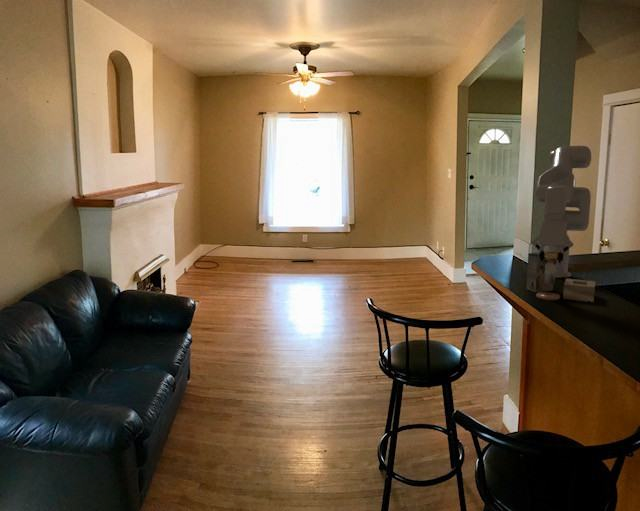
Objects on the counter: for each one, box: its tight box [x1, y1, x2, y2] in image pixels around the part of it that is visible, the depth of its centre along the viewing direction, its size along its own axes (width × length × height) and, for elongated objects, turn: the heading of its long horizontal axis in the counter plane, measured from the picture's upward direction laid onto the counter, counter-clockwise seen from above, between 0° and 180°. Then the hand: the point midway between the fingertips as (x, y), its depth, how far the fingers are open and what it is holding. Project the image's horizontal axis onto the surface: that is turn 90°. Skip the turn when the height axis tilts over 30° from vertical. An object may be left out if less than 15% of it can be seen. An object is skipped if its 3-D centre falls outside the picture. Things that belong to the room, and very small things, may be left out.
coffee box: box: [526, 252, 554, 293], centre depth 220 cm, size 9×6×16 cm
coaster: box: [535, 291, 561, 301], centre depth 210 cm, size 9×9×1 cm
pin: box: [543, 249, 560, 284], centre depth 208 cm, size 6×6×13 cm
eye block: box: [562, 278, 596, 303], centre depth 209 cm, size 11×11×6 cm
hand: (550, 261), depth 207 cm, fingers closed on pin, 6 cm apart
